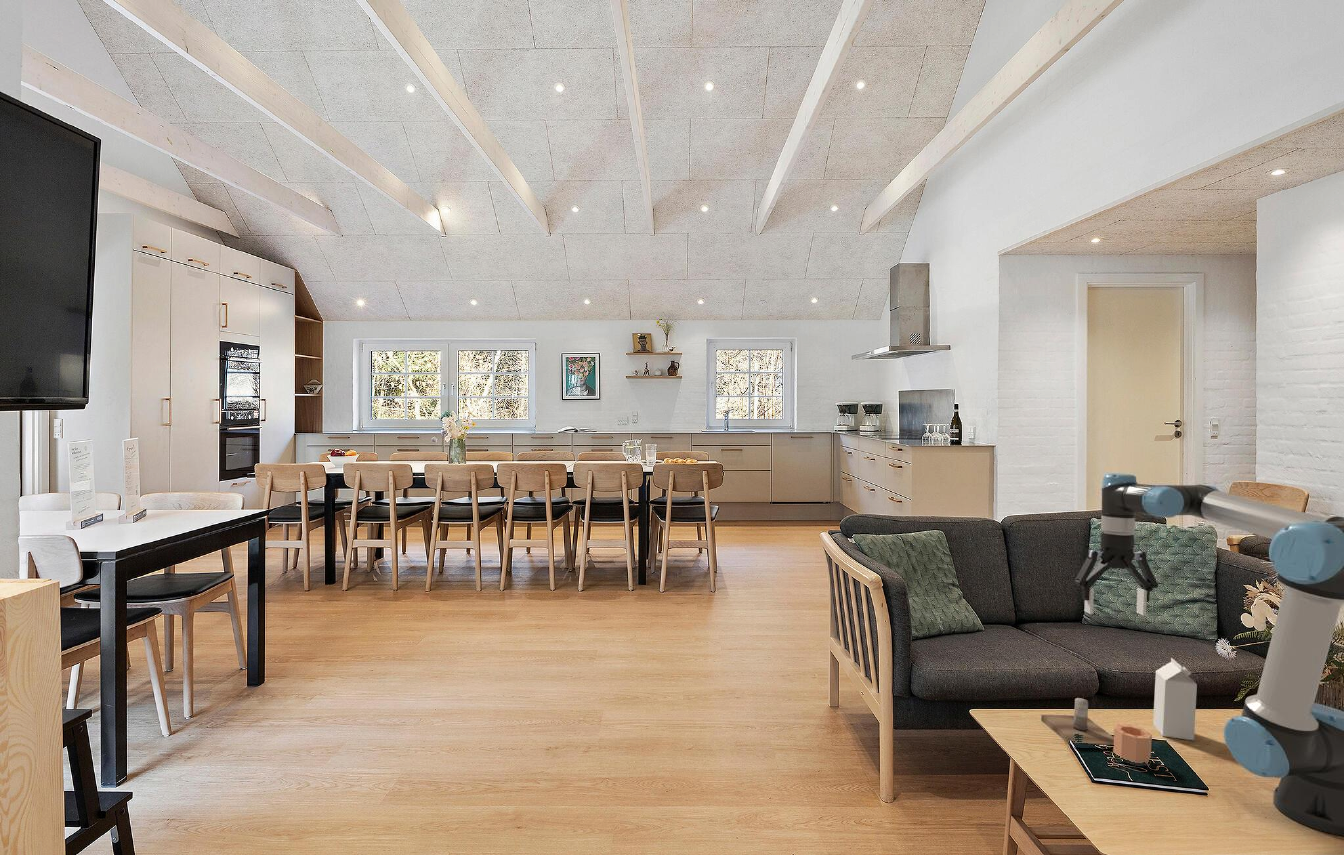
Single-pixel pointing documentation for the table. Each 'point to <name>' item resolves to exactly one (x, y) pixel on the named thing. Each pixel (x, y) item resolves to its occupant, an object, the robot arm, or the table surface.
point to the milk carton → (1175, 702)
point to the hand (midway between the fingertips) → (1114, 613)
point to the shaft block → (1078, 726)
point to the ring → (1132, 743)
